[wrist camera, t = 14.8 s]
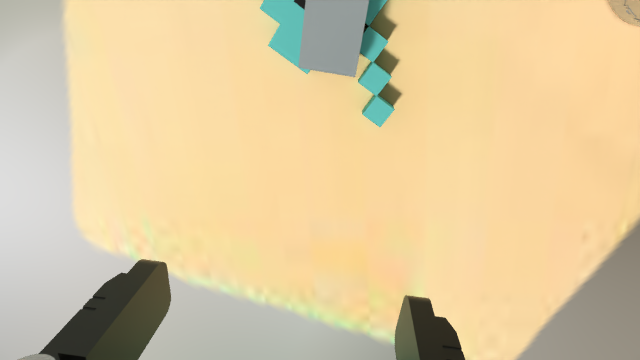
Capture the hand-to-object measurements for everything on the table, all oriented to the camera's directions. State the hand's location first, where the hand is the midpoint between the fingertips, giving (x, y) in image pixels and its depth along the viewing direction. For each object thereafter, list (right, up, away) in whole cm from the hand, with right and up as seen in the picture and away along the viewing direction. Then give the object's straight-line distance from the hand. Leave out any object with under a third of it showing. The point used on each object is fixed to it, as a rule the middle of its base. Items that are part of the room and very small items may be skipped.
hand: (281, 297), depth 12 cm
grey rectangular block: (+3, +20, +17) cm, 26 cm away
